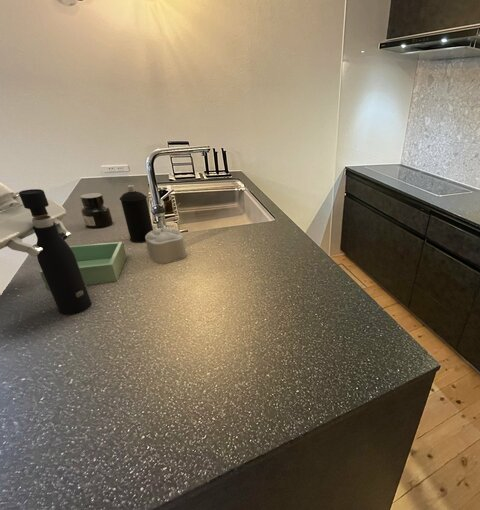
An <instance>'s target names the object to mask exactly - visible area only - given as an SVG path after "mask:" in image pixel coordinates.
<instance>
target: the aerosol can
mask: <svg viewBox="0 0 480 510" xmlns="http://www.w3.org/2000/svg"><path fill="white" fill-rule="evenodd" d="M135 188H136V187H135V185H133V184H129V185H127V190H128V191H127V192H124V193H123V194H122V195H121V196H120V197H119V201H120V203H121V207H122V211H123V214H124V219H125V223H126V227H127V230H128V235H129V241H130V242H131V243H132V242H133V243H138V242H139V243H146V239H145V236H146V235H147V234H148V233H149V232H150V231H153V230H154V228H153V223H152V218H151V214H150V209H149V205H148V199H147V198H148V196H147V194H146V195H145V194H144V193H142V192H140V191H136V189H135Z"/></svg>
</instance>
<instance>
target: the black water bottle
mask: <svg viewBox="0 0 480 510" xmlns="http://www.w3.org/2000/svg"><path fill="white" fill-rule="evenodd" d="M20 191H21V192H20ZM20 191H18V192H19V195H20V198H21V200H22V203H23V205H24V207H25V208H26V209H30V211H31V214H32V216H33V217H34V218H32V222H33V225H34V227H33V229H34V231H35V233H34V234H35V235H36V245H37V246H39V247H40V248H42V249H43V251H42V252H41V254H39V255H37V256H36V257H37V262H38V264H39V267H40V270H42V272H43V274H44V276H45V279H46V281H47V284H48V286H49V288H50V289H49V291H50V293H51V295H52V298H53V300H54V303H55V305H56V308H57V311H58V312H59V314H61V315H64V316H71V315H76V314H80V313H82V312H84V311H86V310H87V309H89V308H90V307H91V306H92V300H91V297H90V295H89V291H88V289H87V287H86V286H87V285H85V283H84V280H83V278H82V275H81V272H80V269H79V266H78V263H77V261H76V258H75V255H74V253H73V251H72V250H71V248H70V247H69V246H70V245H69V244H68V243H67V241H66V239H65V240H64V239H63V238H62V237H61V236H60V235H59V232H58V229H57V227H56V224H54V223H53V221H52V218H51V217H50V216H47V215H48V212H47V210H46V208H45V207H47V206H48V205H49V204H48V201H47V198H48V197H47V195H46V193H45V191H44V189H40V188H35V189H34V188H31V189H24V191H23V190H20ZM46 197H47V198H46Z"/></svg>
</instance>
